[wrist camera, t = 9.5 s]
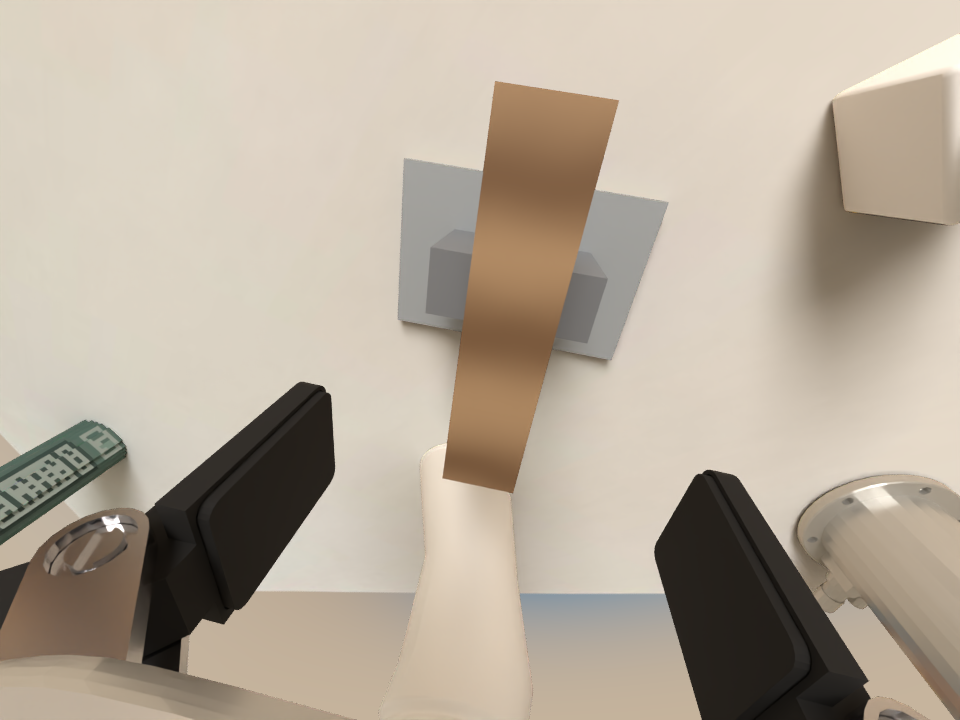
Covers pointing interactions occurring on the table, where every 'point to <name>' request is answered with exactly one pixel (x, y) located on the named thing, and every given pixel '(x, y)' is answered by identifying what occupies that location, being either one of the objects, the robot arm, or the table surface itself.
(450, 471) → the walnut bar
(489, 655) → the spray can
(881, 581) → the robot arm
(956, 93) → the medicine bottle
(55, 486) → the can
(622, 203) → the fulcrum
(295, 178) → the table surface
